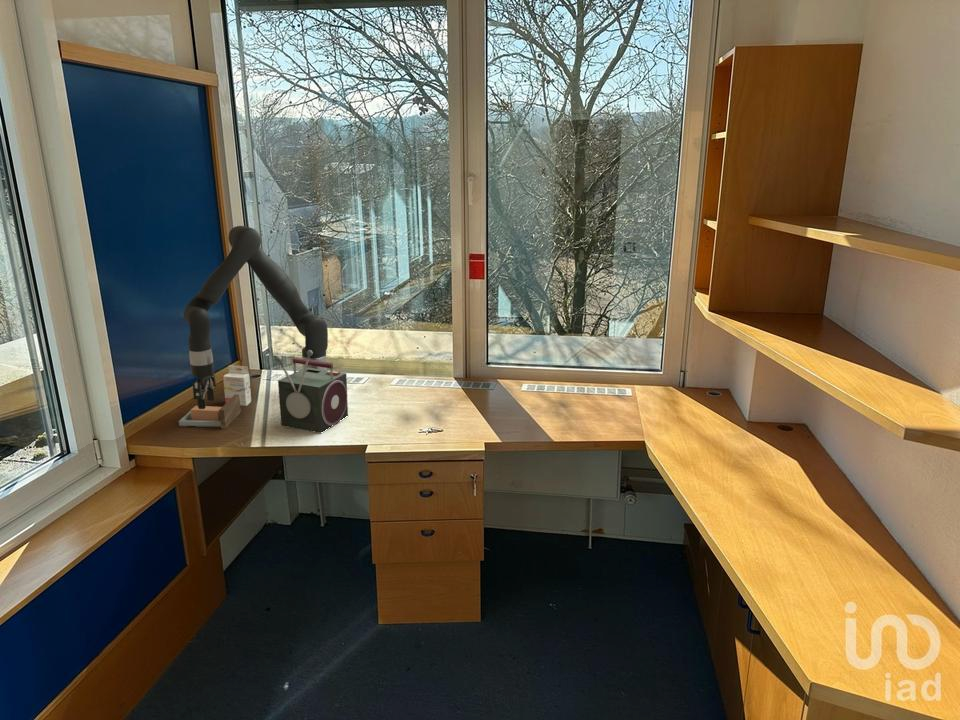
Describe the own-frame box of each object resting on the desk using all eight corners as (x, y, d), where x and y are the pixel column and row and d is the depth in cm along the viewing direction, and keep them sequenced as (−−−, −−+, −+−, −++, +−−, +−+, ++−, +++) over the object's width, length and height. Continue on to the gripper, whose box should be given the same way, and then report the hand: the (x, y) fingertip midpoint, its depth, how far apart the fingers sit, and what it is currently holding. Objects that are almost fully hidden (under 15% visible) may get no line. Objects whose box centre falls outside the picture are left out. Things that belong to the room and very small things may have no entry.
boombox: (351, 415, 246) (348, 338, 237) (319, 436, 228) (314, 352, 219) (310, 408, 252) (305, 332, 244) (275, 427, 234) (269, 346, 225)
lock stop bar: (223, 417, 241) (222, 407, 239) (218, 421, 237) (217, 411, 236) (197, 415, 241) (195, 405, 240) (191, 420, 237) (190, 409, 236)
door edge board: (240, 412, 247) (239, 394, 245) (225, 428, 232) (223, 410, 230) (236, 411, 247) (234, 394, 245) (221, 428, 232) (219, 410, 230)
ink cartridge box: (224, 405, 253) (221, 368, 249) (230, 400, 258) (227, 364, 254) (246, 406, 253) (243, 369, 248) (252, 401, 257) (249, 365, 253)
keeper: (234, 413, 245) (234, 408, 245) (222, 427, 233) (221, 422, 232) (193, 412, 245) (193, 408, 245) (179, 426, 233) (178, 421, 232)
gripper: (204, 367, 226) (209, 411, 231) (219, 355, 240) (224, 397, 244) (182, 367, 226) (188, 411, 231) (198, 355, 239) (203, 397, 244)
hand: (206, 404), depth 237 cm, fingers open, 8 cm apart
